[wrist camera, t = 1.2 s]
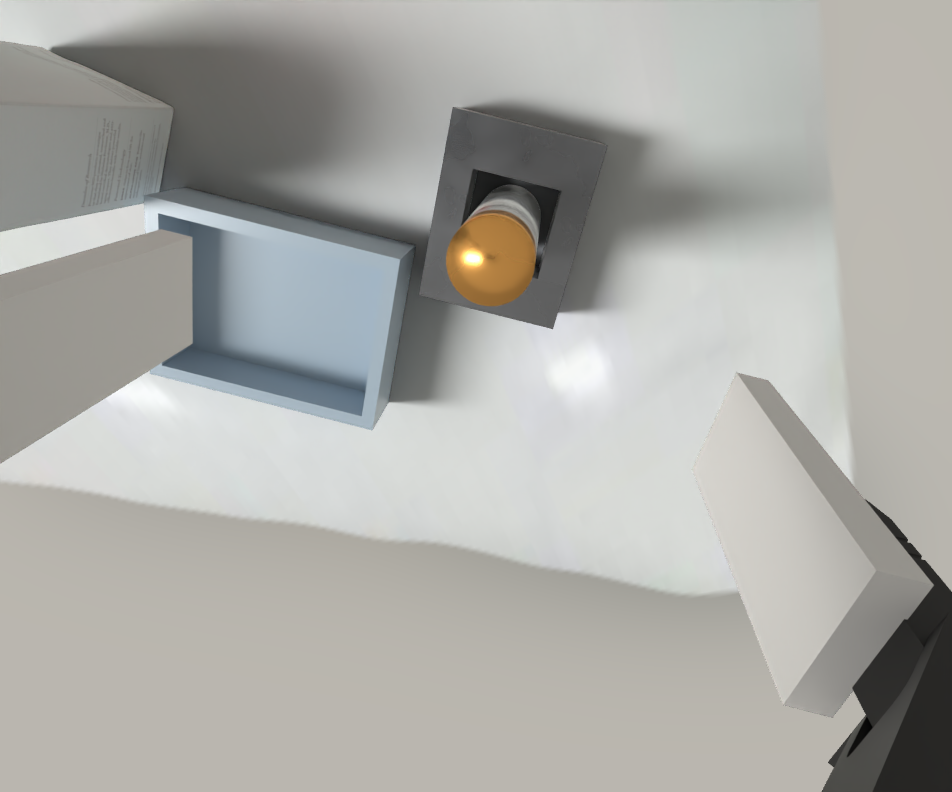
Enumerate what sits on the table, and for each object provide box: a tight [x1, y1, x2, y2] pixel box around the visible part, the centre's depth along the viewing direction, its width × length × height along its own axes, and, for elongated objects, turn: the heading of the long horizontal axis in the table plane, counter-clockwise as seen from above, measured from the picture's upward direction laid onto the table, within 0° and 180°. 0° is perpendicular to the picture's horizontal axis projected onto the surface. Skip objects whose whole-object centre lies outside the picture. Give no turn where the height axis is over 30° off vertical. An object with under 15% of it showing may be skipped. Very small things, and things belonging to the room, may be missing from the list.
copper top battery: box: [446, 185, 541, 306], centre depth 29 cm, size 4×4×12 cm
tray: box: [144, 187, 415, 430], centre depth 37 cm, size 15×11×4 cm
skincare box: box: [0, 41, 174, 232], centre depth 28 cm, size 8×6×15 cm
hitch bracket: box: [419, 107, 607, 329], centre depth 33 cm, size 8×10×3 cm
